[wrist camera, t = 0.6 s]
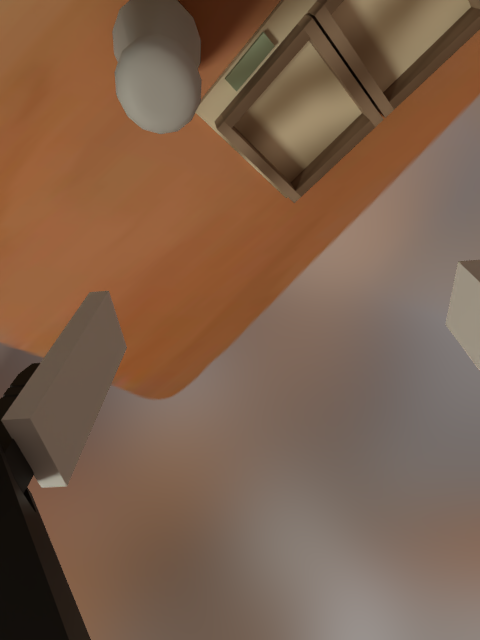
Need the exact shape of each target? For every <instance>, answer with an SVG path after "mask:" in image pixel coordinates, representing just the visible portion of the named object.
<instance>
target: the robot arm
mask: <svg viewBox="0 0 480 640" xmlns="http://www.w3.org/2000/svg"><path fill="white" fill-rule="evenodd" d="M446 326H447V327H448V328H449V330H450V331H451V333H452V334H453V335H454V337H455V338H456V339H457V341H458V342H459V343H460V345H461V346H462V347H463V349H464V350H465V352H466V353H467V354H468V356H469V357H470V358H471V360H472V361H473V362H474V364H475V365H476V366H477V368H478V369H479V371H480V260H473V261H472V260H471V261H460V262H458V266H457V271H456V276H455V280H454V285H453V290H452V295H451V300H450V305H449V310H448V315H447V320H446ZM126 348H127V347H126V344H125V341H124V337H123V334H122V331H121V328H120V325H119V322H118V319H117V315H116V312H115V309H114V306H113V303H112V300H111V297H110V293H109V291H101V292H90V293H89V294H88V295H87V297H86V298H85V300H84V301H83V303H82V304H81V306H80V307H79V308H78V310H77V311H76V313H75V314H74V316H73V317H72V319H71V320H70V321H69V323H68V324H67V326H66V327H65V329H64V330H63V331H62V333H61V334H60V336H59V337H58V339H57V340H56V342H55V343H54V344H53V346H52V347H51V349H50V350H49V352H48V353H47V355H46V356H45V357H44V359H43V360H42V362H41V363H34V364H31V365H30V366H29V367H27V368H26V369H25V370H24V371H22V372H21V373H20V374H18V376H17V377H16V379H15V380H14V381H13V383H12V384H11V385H10V388H8V389H7V391H6V392H5V393H4V395H3V398H1V399H0V640H91V639H90V637H89V634H88V632H87V629H86V627H85V624H84V622H83V619H82V617H81V614H80V612H79V609H78V607H77V605H76V602H75V600H74V597H73V595H72V592H71V590H70V588H69V585H68V583H67V580H66V578H65V575H64V573H63V570H62V568H61V565H60V563H59V560H58V558H57V555H56V553H55V551H54V548H53V546H52V543H51V541H50V538H49V536H48V533H47V531H46V528H45V526H44V523H43V521H42V519H41V516H40V514H39V511H38V509H37V507H36V504H35V501H34V499H33V496H32V494H31V492H30V491H29V489H28V488H27V486H28V485H29V483H30V481H31V479H32V477H33V475H34V476H35V478H36V479H37V481H38V483H39V484H40V486H41V487H61V486H67V485H68V483H69V480H70V478H71V476H72V473H73V471H74V469H75V466H76V464H77V462H78V460H79V457H80V455H81V452H82V450H83V448H84V446H85V443H86V441H87V439H88V436H89V434H90V432H91V429H92V427H93V425H94V422H95V420H96V418H97V416H98V413H99V411H100V408H101V406H102V404H103V401H104V399H105V397H106V395H107V392H108V390H109V388H110V385H111V383H112V381H113V378H114V376H115V374H116V371H117V369H118V367H119V364H120V362H121V360H122V358H123V355H124V353H125V351H126Z"/></svg>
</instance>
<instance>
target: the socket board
mask: <svg viewBox="0 0 480 640" xmlns="http://www.w3.org/2000/svg"><path fill="white" fill-rule="evenodd" d="M479 29H480V0H281V1H280V3H279V4H278V5H277V6H276V7H275V9H274V10H273V11H272V12H271V14H270V15H269V16H268V17H267V19H266V20H265V21H264V22H263V24H262V25H261V26H260V27H259V29H258V30H257V31H256V32H255V33H254V35H253V36H252V37H251V38H250V40H249V41H248V42H247V43H246V45H245V46H244V47H243V48H242V50H241V51H240V52H239V53H238V55H237V56H236V57H235V58H234V60H233V61H232V62H231V63H230V64H229V66H228V67H227V68H226V69H225V71H224V72H223V73H222V74H221V76H220V77H219V78H218V79H217V81H216V82H215V83H214V84H213V86H212V87H211V88H210V89H209V91H208V92H207V93H206V94H205V95H204V97H203V98H202V99H201V102H200V104H199V106H198V108H197V110H196V113H197V114H198V115H199V116H200V117H201V118H202V119H203V120H204V121H205V122H206V123H207V124H208V125H209V126H210V127H212V128H213V129H214V130H215V131H216V132H217V133H218V134H219V135H220V136H221V137H222V138H223V139H224V140H225V141H226V142H227V143H228V144H230V145H231V146H232V147H233V148H234V149H235V150H236V151H237V152H238V153H239V154H240V155H241V156H242V157H243V158H244V159H245V160H246V161H247V162H249V163H250V164H251V165H252V166H253V167H254V168H255V169H256V170H257V171H258V172H259V173H260V174H261V175H262V176H263V177H264V178H265V179H267V180H268V181H269V182H270V183H271V184H272V185H273V186H274V187H275V188H276V189H277V190H278V191H279V192H280V193H281V194H282V195H283V196H285V197H286V198H287V197H289V198H290V199H291V200H292V201H293V202H294V203H295V202H296V201H297V200H298V199H299V198H300V197H301V196H303V195H304V194H305V193H306V192H307V191H308V190H309V189H310V188H311V187H312V186H313V185H314V184H315V183H316V182H317V181H319V180H320V179H321V178H322V177H323V176H324V175H325V174H326V173H327V172H328V171H329V170H330V169H331V168H332V167H333V166H334V165H336V164H337V163H338V162H339V161H340V160H341V159H342V158H343V157H344V156H345V155H346V154H347V153H348V152H349V151H350V150H352V149H353V148H354V147H355V146H356V145H357V144H358V143H359V142H360V141H361V140H362V139H363V138H364V137H365V136H366V135H368V134H369V133H370V132H371V131H372V130H373V129H374V128H375V127H376V126H377V125H378V124H379V123H380V122H381V121H382V120H383V118H382V117H381V115H380V114H379V113H381V114H382V115H383V116H384V117H387V116H388V115H389V114H390V113H391V112H392V111H393V110H394V109H395V108H396V107H397V106H398V105H399V104H401V103H402V102H403V101H404V100H405V99H406V98H407V97H408V96H409V95H410V94H411V93H412V92H413V91H414V90H415V89H417V88H418V87H419V86H420V85H421V84H422V83H423V82H424V81H425V80H426V79H427V78H428V77H429V76H430V75H431V74H432V73H434V72H435V71H436V70H437V69H438V68H439V67H440V66H441V65H442V64H443V63H444V62H445V61H446V60H447V59H448V58H450V57H451V56H452V55H453V54H454V53H455V52H456V51H457V50H458V49H459V48H460V47H461V46H462V45H463V44H464V43H466V42H467V41H468V40H469V39H470V38H471V37H472V36H473V35H474V34H475V33H476V32H477V31H478V30H479Z"/></svg>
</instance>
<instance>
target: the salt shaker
mask: <svg viewBox="0 0 480 640" xmlns="http://www.w3.org/2000/svg"><path fill="white" fill-rule="evenodd" d="M113 44H114V55H115V57H116V59H117V61H118V64H117V67H116V70H115V83H116V95H117V97H118V99H119V101H120V103H121V105H122V107H123V108H124V110H125V112H126V114H127V116H128V117H129V118H130V119H131V120H133V121H134V122H135V123H136V124H137V125H138V126H140V127H141V128H142V129H144V130H148V131H151V132H155V133H158V134H163V133H170V132H176V131H178V130H180V129H181V128H182V127H184V126H185V125H186V124H187V123H189V122H190V121H191V120H192V118H193V116H194V114H195V112H196V110H197V108H198V106H199V104H200V102H201V77H200V75H199V72H198V67H199V65H200V57H201V40H200V36H199V33H198V30H197V27H196V24H195V21H194V18H193V17H192V16H191V15H190V14H189V13H188V11H187V10H186V9H185V8H184V7H183V6H182V5H181V4H180V3H179V2H178V1H177V0H130V1H129V2H128V3H126V4H125V5H124V6H123V7H122V8H121V9H120V10H119V13H118V16H117V19H116V22H115V25H114V28H113Z"/></svg>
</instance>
